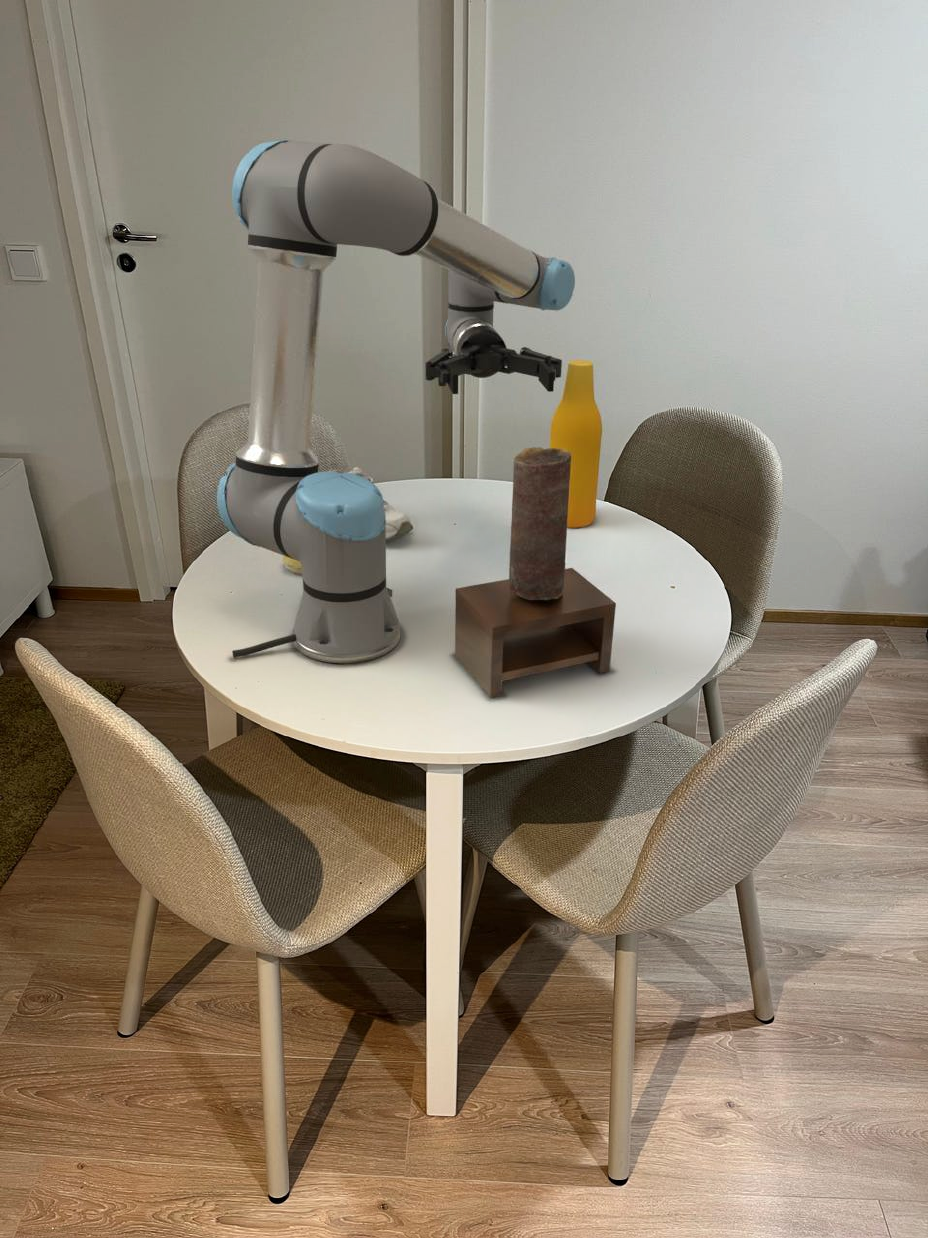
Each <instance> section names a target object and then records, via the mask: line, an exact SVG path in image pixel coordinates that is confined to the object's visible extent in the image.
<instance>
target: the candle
mask: <svg viewBox="0 0 928 1238" xmlns="http://www.w3.org/2000/svg"><path fill="white" fill-rule="evenodd" d="M570 469H571V453H570V452H569V451H567V450H562V449H556V448H550V447H549V448H543V447H538V446H537V447H535V446H533V447H527V448H526V447H525V448H524V449H522V450H521V451H520V452H519V453H517V454H516V455H515V457H514V459H513V472H512V473H513V474H512V499H511V500H512V501H511V521H510V522H511V523H510V524H511V526H510V544H509V545H510V547H509V565H508V579H509V591H510V592H511V593H512V594H516V595H518V596H520V597H523V598H525V599H528V600H550V599H558V598H559V597H560V596H562V595H563V588H564V574H565V569H566V555H567V554H566V553H567V539H568V537H567V536H568V535H567V534H568V527H567V518H568V501H569V483H570Z"/></svg>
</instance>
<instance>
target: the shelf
mask: <svg viewBox="0 0 928 1238" xmlns="http://www.w3.org/2000/svg"><path fill="white" fill-rule="evenodd" d="M454 603H455V606H454V607H455V611H454V613H455V615H454V622H455V623H454V625H455V626H454V656H455V658H457V660H458V661H459V662H460V663H461V665H462V666H463V667H464V669H465V670H466V671H467V672H468V673H469V674H470V675H471V676H472V678H473V679H474V680H475V682H476V683H478V685H479V686H480V687H481V688H482V689H483V691H484V692H485V693H486V694H487V696H488V697H489V698H490V699H492V698H496V697H501V696H502V685H503V681H507V680H513V679H516V678H521V677H527V676H530V675H534V674H539V673H544V672H548V671H553V670H558V669H563V668H567V667H571V666H576V665H580V664H584V663H588V664H589V665H590V666H591V667H592V668H593V669H594V670H595V671H596V672H597V673H598V674H604V673H607V672H610V670H611V659H612V649H613V640H614V628H615V619H616V607H617V603H616V602H615V600H613V599H611V598H610V597H609V596H608V595H606V594H605V593H604V592H603V591H602V590H601V589H599V588H598V587H597V586H596V585H595V584H594V583H592V582H590V581H589V580H588V579H587V578H586V577H585V576H583V575H582V574H581V573H580V572H578V571H577V570H575V568H573V567H569V568H565V574H564V588H563V595H562V596H560V597H559V598H558V599H550V600H528V599H525V598H523V597H520V596H518V595H516V594H512V593H511V592H510V591H509V578H507V579H501V580H497V581H496V580H495V581H490V582H485V583H484V582H483V583H477V584H473V585H468V586H462V587H456V588H455V602H454Z"/></svg>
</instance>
